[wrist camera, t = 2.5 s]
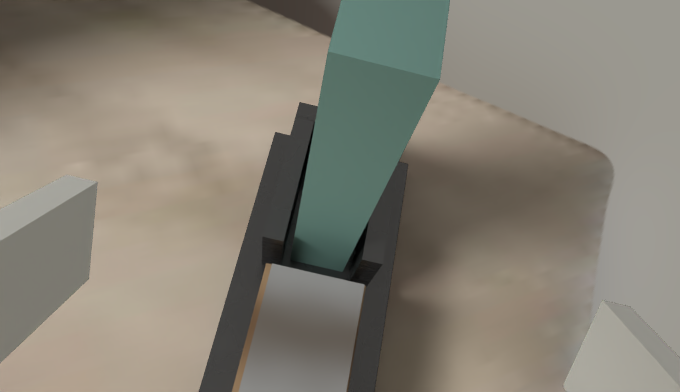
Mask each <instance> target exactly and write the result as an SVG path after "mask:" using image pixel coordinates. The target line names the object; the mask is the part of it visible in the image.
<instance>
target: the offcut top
mask: <svg viewBox="0 0 680 392" xmlns="http://www.w3.org/2000/svg"><path fill="white" fill-rule="evenodd" d="M364 286H365V285H364V284H360V283H356V282H351V281H347V280H343V279H338V278H334V277H329V276H325V275H321V274H316V273H312V272H308V271H303V270H299V269H294V268H290V267H286V266H281V265H277V264H273V263H272V266H271V270H270V273H269V277H268V281H267V285H266V289H265V292H264V296H263V300H262V304H261V308H260V312H259V315H258V319H257V323H256V327H255V331H254V334H253V338H252V342H251V346H250V350H249V354H248V357H247V361H246V365H245V369H244V373H243V377H242V380H241V384H240V388H239V392H346V391H347V385H348V379H349V373H350V367H351V361H352V356H353V350H354V344H355V338H356V332H357V326H358V321H359V315H360V309H361V303H362V297H363V292H364Z"/></svg>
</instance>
